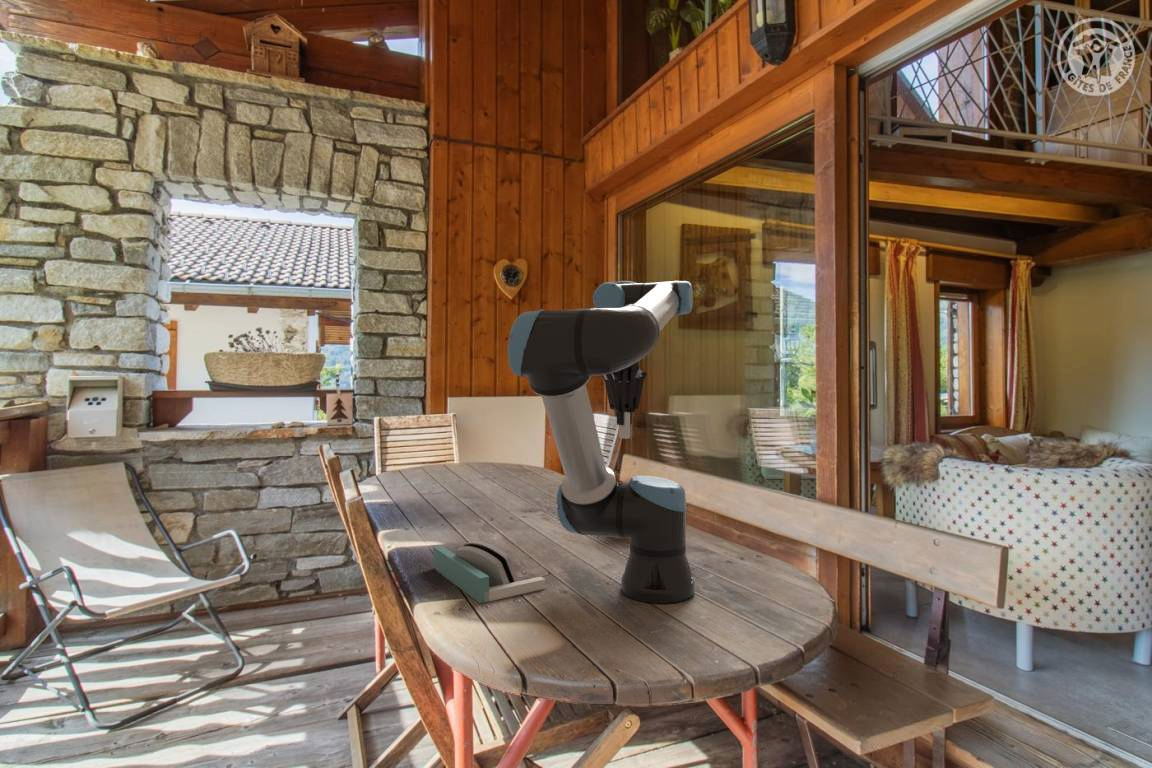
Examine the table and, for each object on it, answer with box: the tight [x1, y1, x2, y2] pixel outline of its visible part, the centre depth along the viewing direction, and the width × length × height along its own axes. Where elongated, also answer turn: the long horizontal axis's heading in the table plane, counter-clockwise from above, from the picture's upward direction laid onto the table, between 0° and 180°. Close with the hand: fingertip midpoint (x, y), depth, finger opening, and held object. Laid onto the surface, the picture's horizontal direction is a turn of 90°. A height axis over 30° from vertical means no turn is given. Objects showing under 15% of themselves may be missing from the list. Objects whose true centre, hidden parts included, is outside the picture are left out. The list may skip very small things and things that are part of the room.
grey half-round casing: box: [455, 540, 523, 587], centre depth 130 cm, size 17×5×10 cm, turn 47°
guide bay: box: [432, 545, 546, 604], centre depth 133 cm, size 26×15×5 cm, turn 33°
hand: (624, 437), depth 150 cm, fingers closed
